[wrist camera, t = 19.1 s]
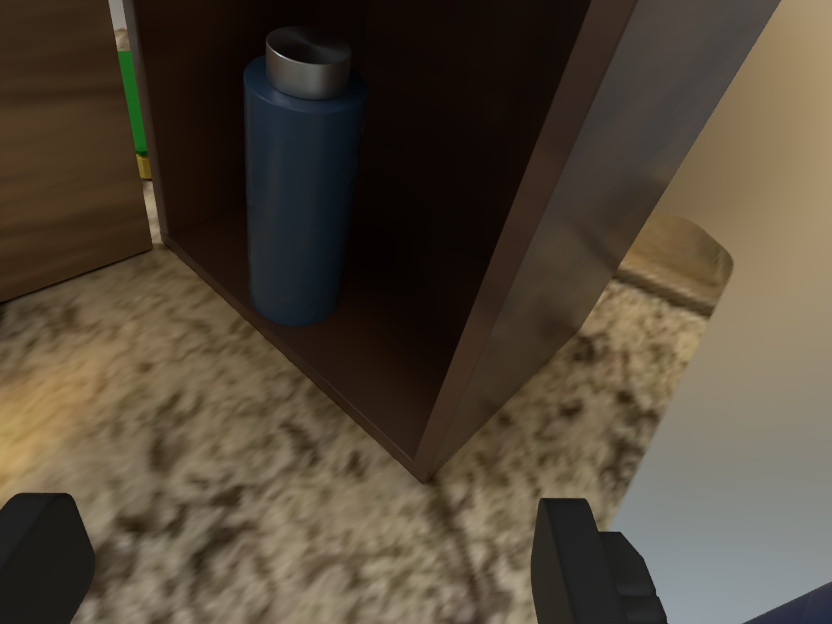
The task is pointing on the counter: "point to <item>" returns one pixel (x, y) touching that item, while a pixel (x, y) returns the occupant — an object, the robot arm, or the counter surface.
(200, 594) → the counter surface
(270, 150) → the water bottle
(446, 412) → the cupboard
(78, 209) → the cupboard door
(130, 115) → the dish sponge
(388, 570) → the counter surface
